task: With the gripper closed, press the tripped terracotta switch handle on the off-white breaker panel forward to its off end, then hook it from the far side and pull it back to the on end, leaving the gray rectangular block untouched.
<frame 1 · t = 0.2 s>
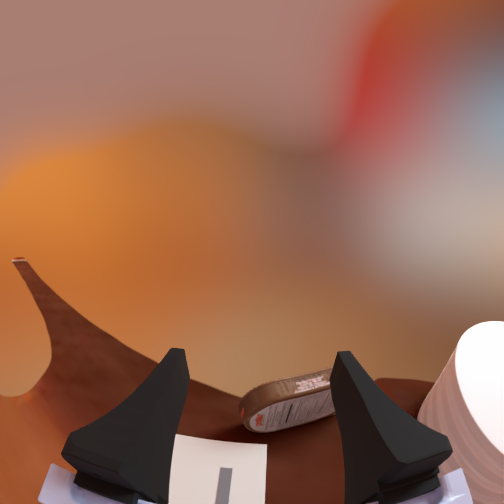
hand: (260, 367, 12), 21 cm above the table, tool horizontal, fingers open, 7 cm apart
tin: (298, 420, 30), on the table
plate stack: (488, 436, 21), on the table
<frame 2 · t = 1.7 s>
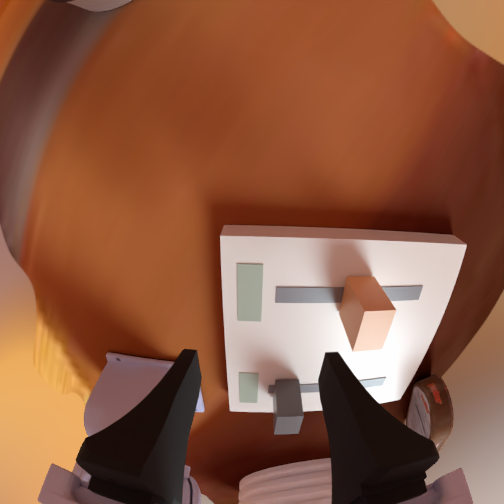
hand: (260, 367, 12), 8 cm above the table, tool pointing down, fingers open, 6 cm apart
gray rectangular block: (286, 407, 20), point 4 cm above the table, slide at 0.0 cm
tin: (415, 398, 27), on the table
tripped switch: (364, 312, 16), point 4 cm above the table, slide at 4.0 cm
breaker panel: (336, 331, 22), on the table
plate stack: (311, 480, 40), on the table
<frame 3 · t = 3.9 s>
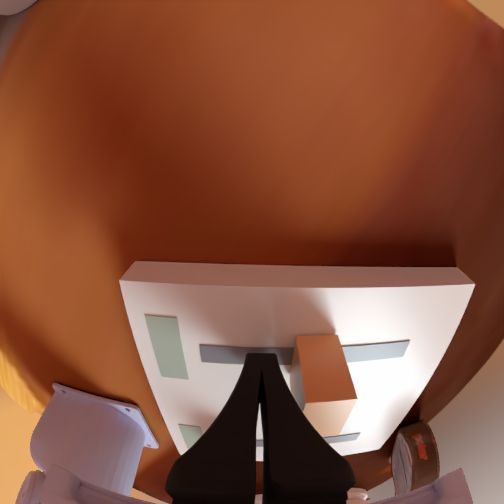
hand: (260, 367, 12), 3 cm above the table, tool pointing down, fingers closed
tin: (401, 439, 22), on the table
tripped switch: (318, 386, 11), point 4 cm above the table, slide at 4.0 cm, touching gripper
breaker panel: (296, 385, 17), on the table
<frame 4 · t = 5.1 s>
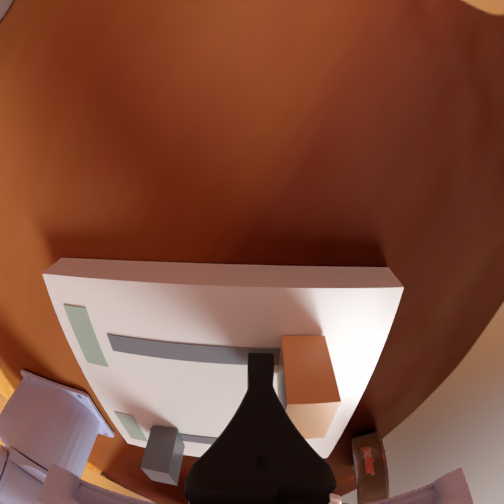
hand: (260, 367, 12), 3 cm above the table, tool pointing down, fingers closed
gray rectangular block: (164, 456, 15), point 4 cm above the table, slide at 0.0 cm
tin: (361, 447, 22), on the table
tripped switch: (303, 388, 11), point 4 cm above the table, slide at 8.5 cm, touching gripper
breaker panel: (218, 384, 17), on the table
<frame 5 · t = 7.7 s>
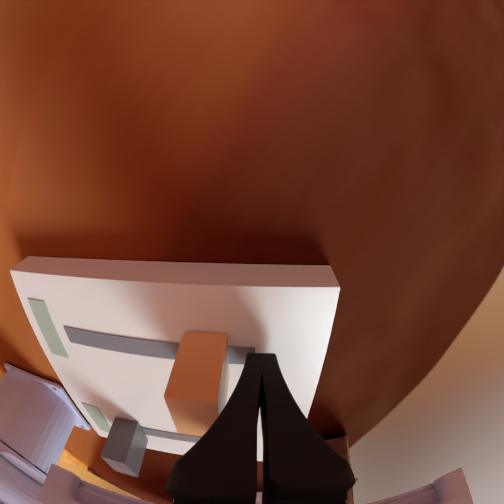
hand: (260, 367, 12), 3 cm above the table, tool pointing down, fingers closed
gray rectangular block: (125, 447, 15), point 4 cm above the table, slide at 0.0 cm
tin: (333, 451, 22), on the table
tripped switch: (202, 385, 11), point 4 cm above the table, slide at 7.2 cm, touching gripper
breaker panel: (172, 379, 17), on the table
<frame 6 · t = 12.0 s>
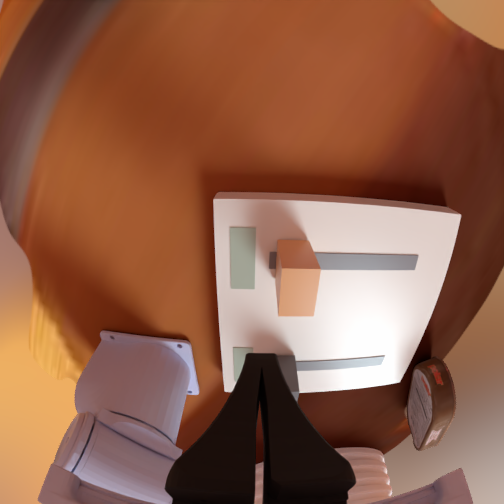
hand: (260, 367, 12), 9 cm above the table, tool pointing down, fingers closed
gray rectangular block: (282, 384, 20), point 4 cm above the table, slide at 0.0 cm
tin: (415, 383, 27), on the table
tripped switch: (294, 276, 16), point 4 cm above the table, slide at -0.1 cm
breaker panel: (332, 305, 22), on the table
plate stack: (312, 474, 40), on the table
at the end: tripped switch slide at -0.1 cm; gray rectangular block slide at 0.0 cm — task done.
